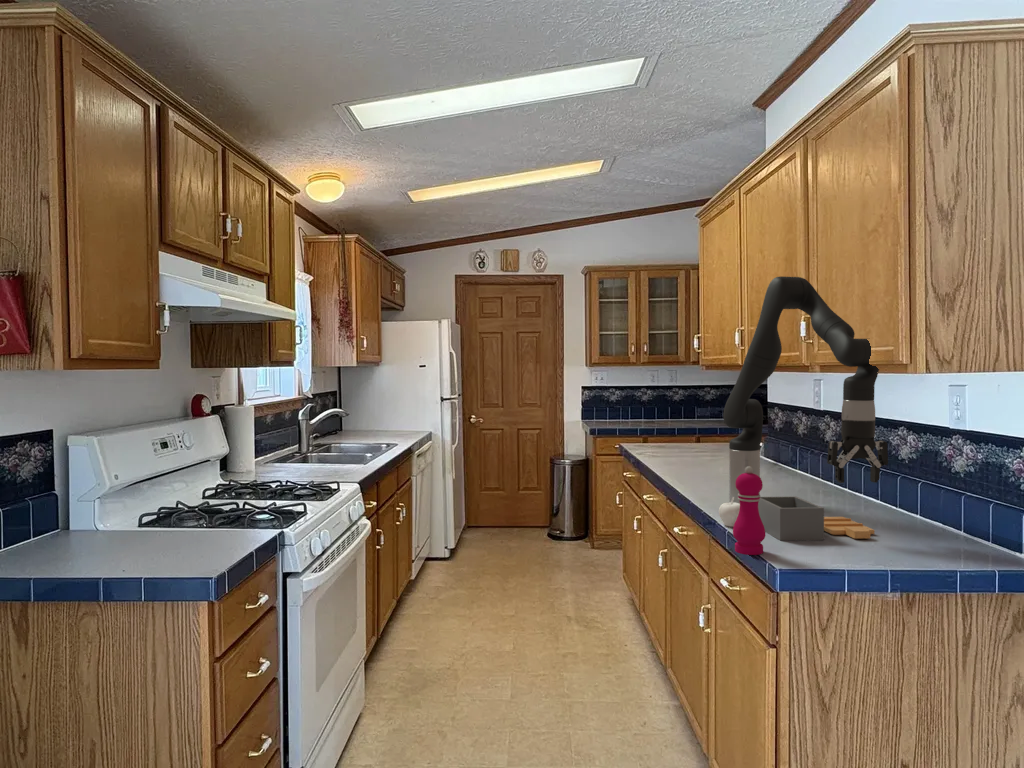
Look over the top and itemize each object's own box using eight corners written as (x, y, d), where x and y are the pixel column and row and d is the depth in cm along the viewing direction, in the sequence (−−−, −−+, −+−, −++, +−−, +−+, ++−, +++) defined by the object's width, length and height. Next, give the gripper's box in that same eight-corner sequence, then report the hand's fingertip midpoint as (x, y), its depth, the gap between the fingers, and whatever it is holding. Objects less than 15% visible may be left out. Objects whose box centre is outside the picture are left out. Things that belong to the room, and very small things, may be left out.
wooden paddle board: (803, 523, 191) (804, 514, 191) (843, 523, 191) (843, 513, 191) (840, 541, 171) (840, 531, 170) (884, 541, 171) (884, 531, 171)
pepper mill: (726, 549, 162) (726, 465, 162) (749, 546, 165) (749, 463, 165) (747, 557, 155) (747, 469, 155) (772, 553, 158) (772, 467, 158)
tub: (755, 526, 186) (755, 496, 186) (795, 525, 187) (795, 496, 187) (780, 540, 170) (780, 508, 170) (823, 540, 171) (823, 508, 171)
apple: (725, 529, 184) (725, 499, 183) (714, 523, 191) (714, 494, 190) (750, 528, 184) (750, 498, 184) (739, 522, 191) (739, 493, 191)
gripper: (877, 416, 176) (876, 479, 177) (823, 416, 176) (822, 479, 176) (894, 419, 169) (893, 484, 169) (837, 419, 168) (836, 485, 169)
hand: (857, 482), depth 173 cm, fingers open, 8 cm apart
